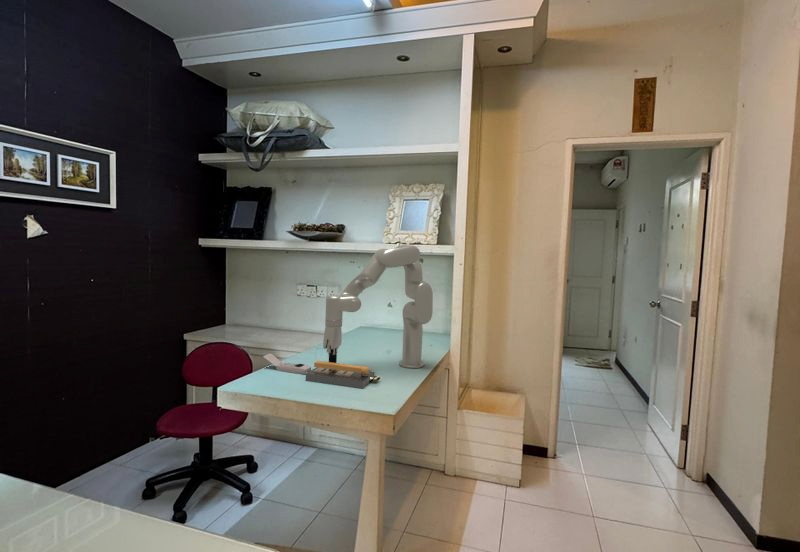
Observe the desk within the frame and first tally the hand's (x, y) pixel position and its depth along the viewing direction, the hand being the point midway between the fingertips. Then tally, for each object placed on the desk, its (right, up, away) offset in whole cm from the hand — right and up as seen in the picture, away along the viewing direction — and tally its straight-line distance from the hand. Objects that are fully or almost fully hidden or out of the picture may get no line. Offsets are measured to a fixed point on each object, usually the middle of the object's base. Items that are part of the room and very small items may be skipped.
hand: (332, 363), depth 181 cm
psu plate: (+5, -6, -8) cm, 11 cm away
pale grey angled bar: (-21, -4, +3) cm, 21 cm away
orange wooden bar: (+5, -1, -8) cm, 10 cm away
